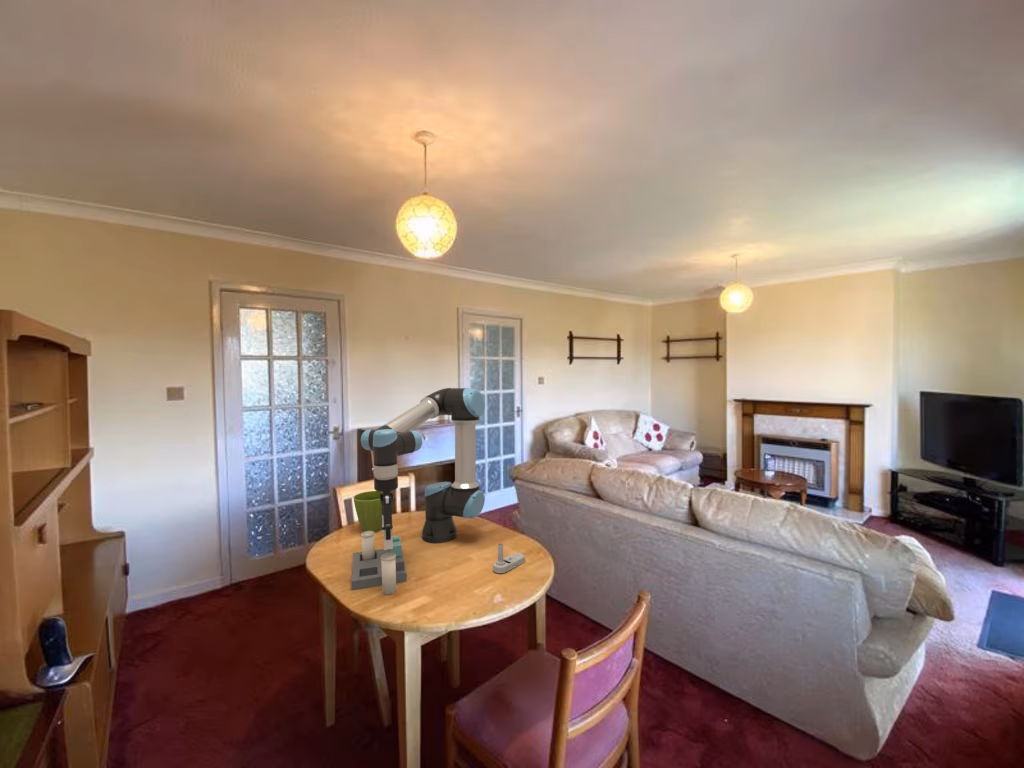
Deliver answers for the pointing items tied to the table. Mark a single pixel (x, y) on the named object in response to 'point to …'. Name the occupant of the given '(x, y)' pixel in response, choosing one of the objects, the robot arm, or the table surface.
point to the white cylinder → (368, 545)
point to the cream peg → (388, 573)
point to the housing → (374, 570)
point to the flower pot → (369, 510)
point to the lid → (397, 546)
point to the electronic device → (507, 561)
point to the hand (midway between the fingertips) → (387, 541)
